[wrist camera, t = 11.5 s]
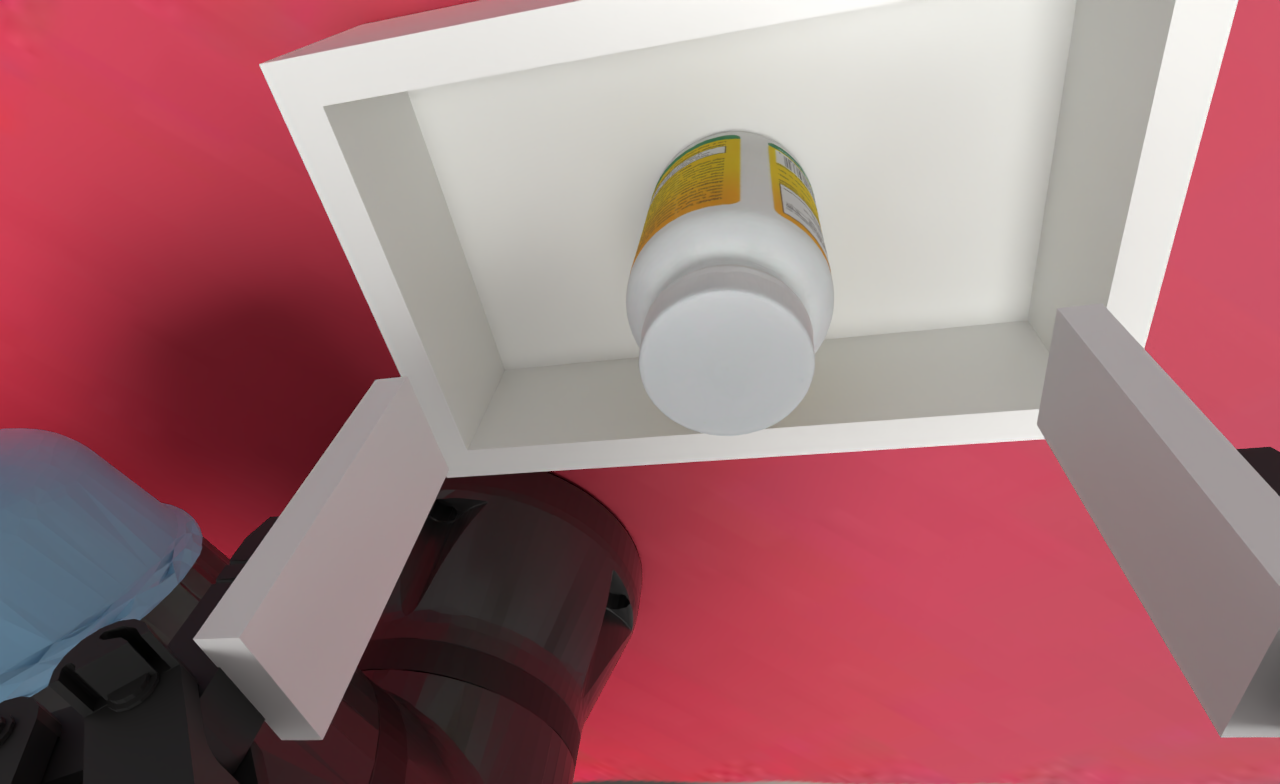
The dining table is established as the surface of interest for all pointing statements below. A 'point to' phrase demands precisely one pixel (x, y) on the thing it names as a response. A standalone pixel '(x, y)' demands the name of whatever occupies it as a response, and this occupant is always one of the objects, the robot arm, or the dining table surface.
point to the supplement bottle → (730, 286)
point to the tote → (829, 154)
